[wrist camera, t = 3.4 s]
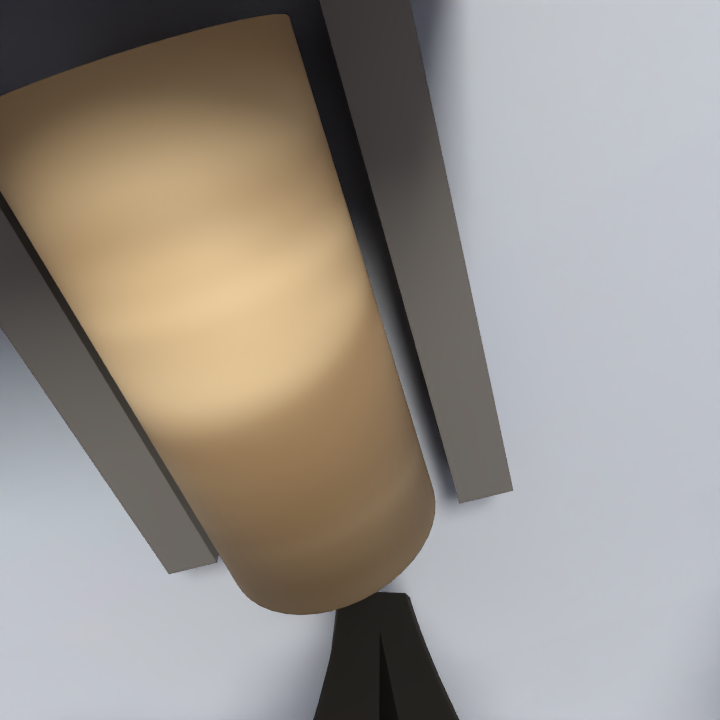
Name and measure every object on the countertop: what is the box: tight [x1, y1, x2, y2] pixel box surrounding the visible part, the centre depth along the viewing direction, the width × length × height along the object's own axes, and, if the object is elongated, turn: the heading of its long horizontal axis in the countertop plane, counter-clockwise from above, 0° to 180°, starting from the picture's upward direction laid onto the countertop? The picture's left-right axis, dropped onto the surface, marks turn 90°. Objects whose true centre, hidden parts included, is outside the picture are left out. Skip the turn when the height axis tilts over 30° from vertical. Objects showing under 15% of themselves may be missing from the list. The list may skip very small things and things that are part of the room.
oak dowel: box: [0, 14, 435, 615], centre depth 8 cm, size 7×4×4 cm, turn 16°
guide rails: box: [0, 0, 513, 574], centre depth 9 cm, size 8×7×1 cm
